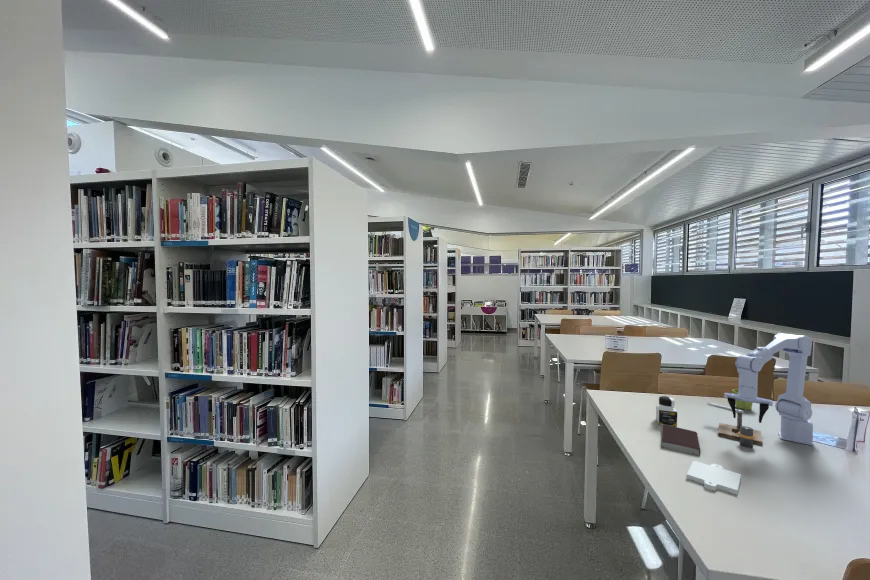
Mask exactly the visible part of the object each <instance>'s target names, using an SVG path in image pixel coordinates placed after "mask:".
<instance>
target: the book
mask: <svg viewBox="0 0 870 580" xmlns="http://www.w3.org/2000/svg"><path fill="white" fill-rule="evenodd" d="M661 448H664V449H668V450H674V451H679V452H682V451H683V453H687V452H689V453H688V454H692V453H694V454H693V455H696V454H699V455H698V456H701V451H702V450H701V445H700V442H699V436H698V432H697V431H695V430H690V429H686V428H682V427H678V426H677V427H674V426H667V425H662V430H661Z"/></svg>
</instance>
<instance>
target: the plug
mask: <svg viewBox="0 0 870 580" xmlns="http://www.w3.org/2000/svg"><path fill="white" fill-rule="evenodd" d="M753 430H754V428H752V427H750V426H747V425H746V426H745V425H742V426H740V432H738V436H740V441H739V445H740V446H742V447H744V448H750V449H751V448H753V447H754V444H753V439H755V435H753Z"/></svg>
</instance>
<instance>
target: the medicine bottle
mask: <svg viewBox="0 0 870 580" xmlns="http://www.w3.org/2000/svg"><path fill="white" fill-rule="evenodd" d="M675 403H676V402H675V398H673V397H671V396H666V395H664V396H663V395H661V396H659V398H658V404H656V405H655V407H656V408H655V420H656V421H657V424H658V425H660V426H663V425H667V426H673V427H674V426H675V427H677V428H678V411H677V409H676V408H675Z"/></svg>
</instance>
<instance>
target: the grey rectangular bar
mask: <svg viewBox="0 0 870 580" xmlns="http://www.w3.org/2000/svg"><path fill="white" fill-rule="evenodd" d="M706 404H707V406H710V407H714V408H717V409H722V410H726V411H730V412H732V409H731V407H729V406H724V405H721V404H718V403H713V402H707V403H706ZM735 411H736V414H737V413H739V414H742V415H744V409H740V408H738V409H737V408H735Z"/></svg>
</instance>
